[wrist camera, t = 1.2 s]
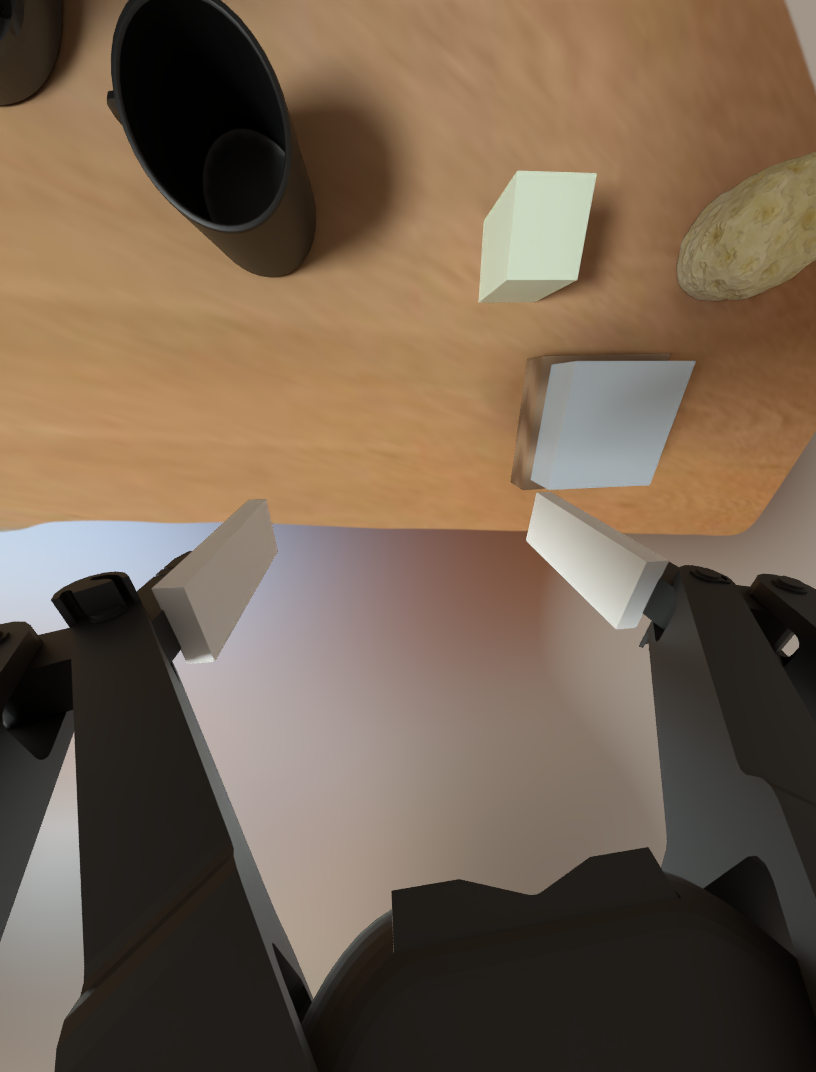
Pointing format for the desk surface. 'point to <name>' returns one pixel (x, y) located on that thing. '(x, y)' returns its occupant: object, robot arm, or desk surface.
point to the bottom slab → (534, 407)
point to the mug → (213, 129)
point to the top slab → (607, 422)
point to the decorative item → (753, 234)
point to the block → (535, 236)
